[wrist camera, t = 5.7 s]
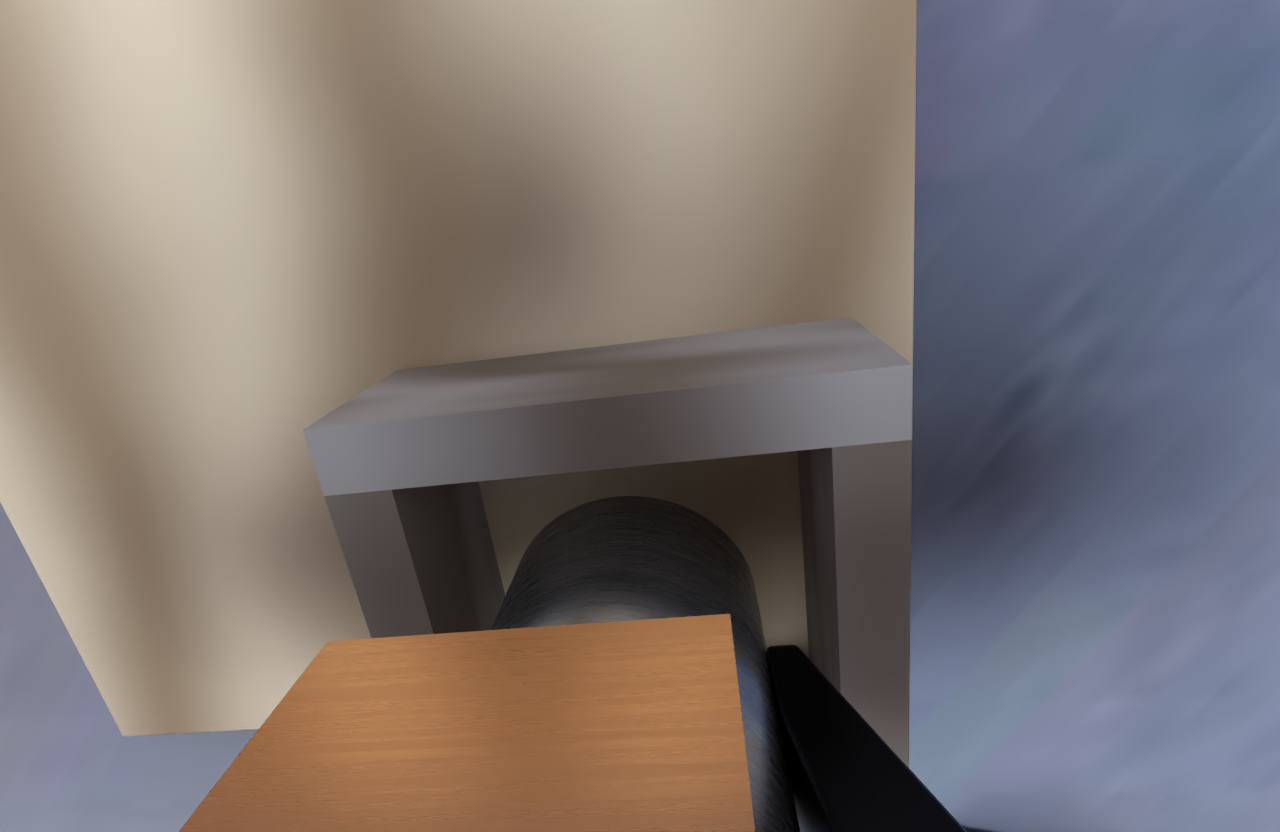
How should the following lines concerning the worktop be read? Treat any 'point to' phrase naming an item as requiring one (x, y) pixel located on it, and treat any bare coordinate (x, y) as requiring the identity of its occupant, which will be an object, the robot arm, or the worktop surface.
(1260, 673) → the worktop surface
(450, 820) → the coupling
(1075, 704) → the worktop surface
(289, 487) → the base
